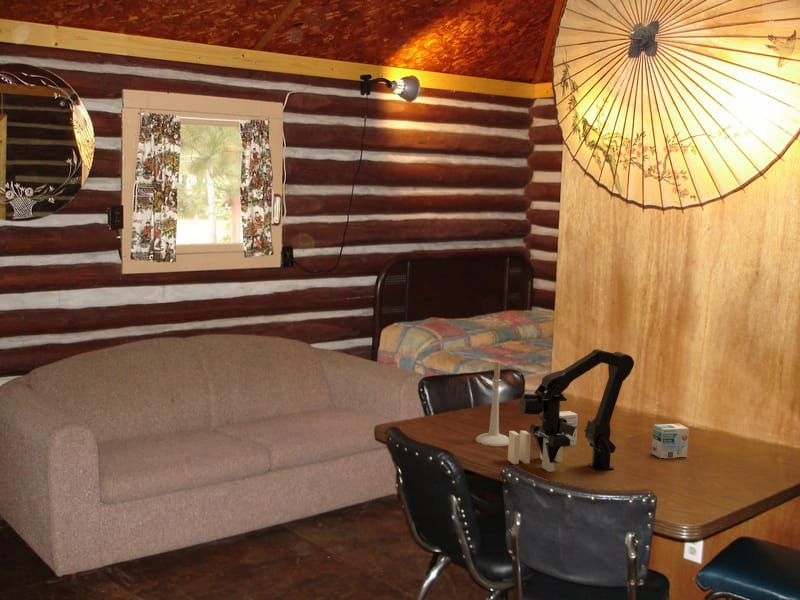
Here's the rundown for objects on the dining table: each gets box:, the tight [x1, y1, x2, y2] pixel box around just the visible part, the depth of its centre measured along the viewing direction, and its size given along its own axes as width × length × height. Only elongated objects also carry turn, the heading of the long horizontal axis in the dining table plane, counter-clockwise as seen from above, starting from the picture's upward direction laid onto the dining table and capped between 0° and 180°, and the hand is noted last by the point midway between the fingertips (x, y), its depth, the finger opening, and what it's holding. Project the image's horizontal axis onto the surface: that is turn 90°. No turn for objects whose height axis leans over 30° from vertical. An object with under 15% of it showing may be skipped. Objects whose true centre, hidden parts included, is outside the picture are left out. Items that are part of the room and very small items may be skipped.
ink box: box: [560, 410, 579, 447], centre depth 326 cm, size 9×5×12 cm, turn 117°
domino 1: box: [507, 430, 520, 465], centre depth 303 cm, size 5×2×10 cm, turn 16°
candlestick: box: [475, 360, 509, 447], centre depth 326 cm, size 13×13×30 cm
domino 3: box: [541, 438, 555, 472], centre depth 296 cm, size 5×2×10 cm, turn 16°
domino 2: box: [519, 430, 532, 464], centre depth 304 cm, size 5×2×10 cm, turn 16°
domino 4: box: [554, 433, 564, 463], centre depth 307 cm, size 5×2×10 cm, turn 16°
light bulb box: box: [651, 423, 690, 459], centre depth 317 cm, size 11×7×11 cm, turn 105°
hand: (548, 460), depth 296 cm, fingers closed on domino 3, 5 cm apart
